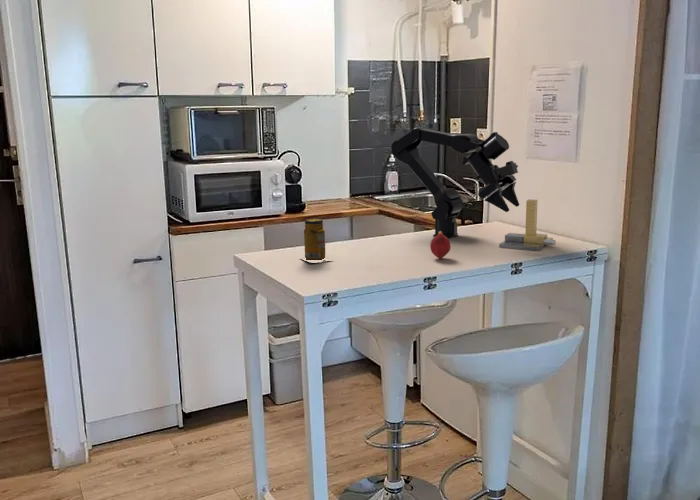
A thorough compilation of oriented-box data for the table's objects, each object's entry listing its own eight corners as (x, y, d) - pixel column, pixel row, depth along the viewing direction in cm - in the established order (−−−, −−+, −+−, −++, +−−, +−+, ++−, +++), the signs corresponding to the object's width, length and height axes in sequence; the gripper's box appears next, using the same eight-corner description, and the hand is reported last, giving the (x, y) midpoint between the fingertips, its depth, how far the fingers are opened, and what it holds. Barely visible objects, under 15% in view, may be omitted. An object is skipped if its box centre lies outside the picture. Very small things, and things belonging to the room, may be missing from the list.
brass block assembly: (504, 244, 207) (505, 199, 204) (515, 237, 216) (516, 195, 213) (542, 247, 201) (544, 201, 198) (552, 240, 209) (554, 197, 206)
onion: (451, 260, 188) (451, 233, 186) (431, 261, 188) (431, 233, 187) (449, 256, 194) (449, 229, 192) (429, 256, 194) (429, 229, 192)
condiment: (321, 256, 199) (320, 216, 197) (333, 261, 192) (331, 221, 189) (299, 259, 196) (297, 219, 194) (310, 265, 189) (308, 223, 186)
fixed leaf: (499, 247, 203) (499, 238, 202) (509, 241, 210) (509, 232, 210) (548, 251, 195) (548, 242, 194) (556, 245, 203) (557, 236, 202)
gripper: (492, 156, 196) (523, 199, 194) (514, 149, 211) (543, 189, 209) (465, 178, 202) (494, 219, 200) (487, 170, 218) (515, 208, 216)
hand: (513, 208), depth 206 cm, fingers open, 9 cm apart
